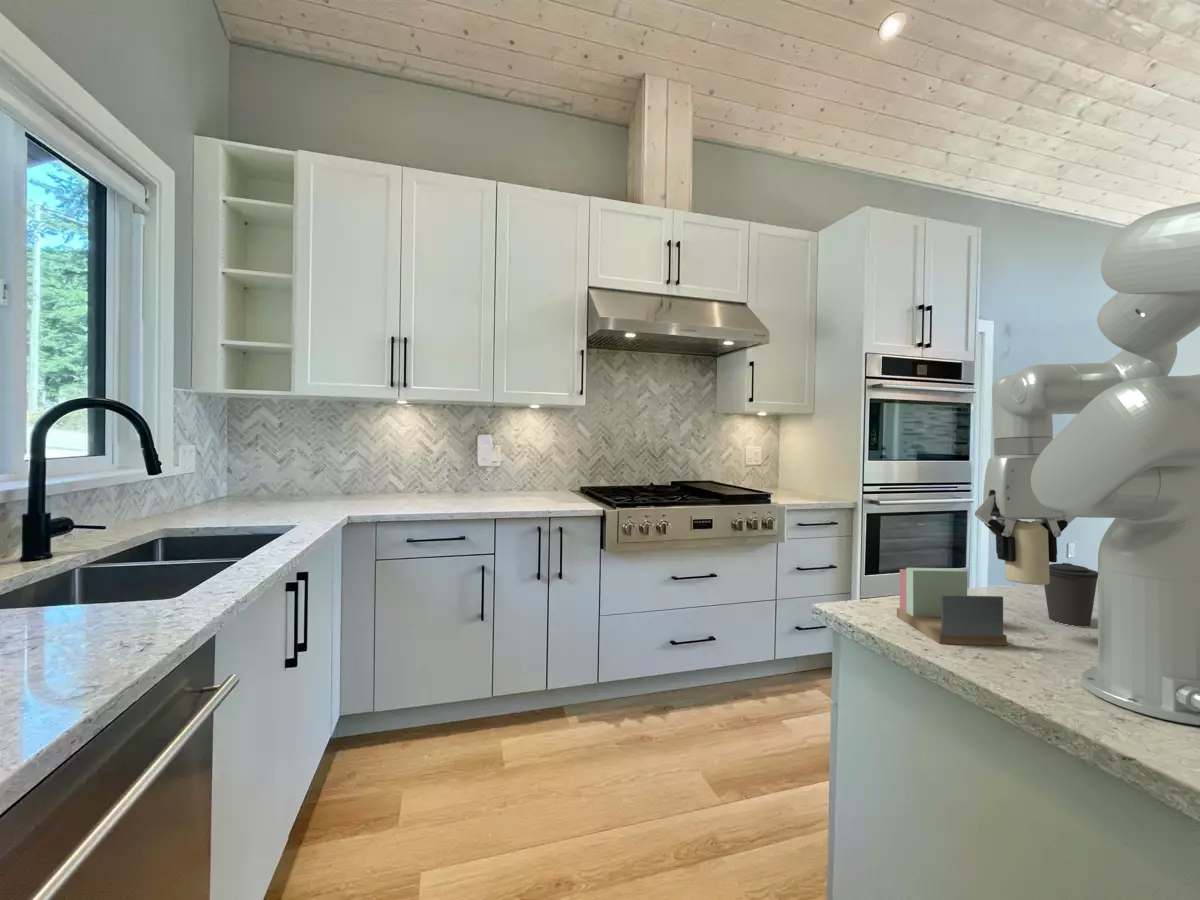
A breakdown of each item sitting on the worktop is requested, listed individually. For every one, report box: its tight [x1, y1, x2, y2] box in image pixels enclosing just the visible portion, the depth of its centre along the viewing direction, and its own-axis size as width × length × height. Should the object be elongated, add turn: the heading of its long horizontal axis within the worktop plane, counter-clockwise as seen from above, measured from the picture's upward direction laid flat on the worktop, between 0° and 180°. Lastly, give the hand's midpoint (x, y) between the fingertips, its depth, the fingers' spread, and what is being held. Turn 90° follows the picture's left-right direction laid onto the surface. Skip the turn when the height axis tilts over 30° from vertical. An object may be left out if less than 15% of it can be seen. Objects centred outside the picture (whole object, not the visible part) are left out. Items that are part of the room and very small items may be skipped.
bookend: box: [941, 595, 1004, 636], centre depth 79 cm, size 1×9×6 cm, turn 87°
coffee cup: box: [1043, 562, 1098, 627], centre depth 89 cm, size 8×8×10 cm
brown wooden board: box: [896, 607, 1008, 646], centre depth 85 cm, size 13×10×2 cm
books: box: [899, 567, 968, 617], centre depth 90 cm, size 4×9×8 cm, turn 86°
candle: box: [1004, 519, 1050, 586], centre depth 82 cm, size 6×6×10 cm
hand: (1026, 559), depth 82 cm, fingers closed on candle, 5 cm apart
